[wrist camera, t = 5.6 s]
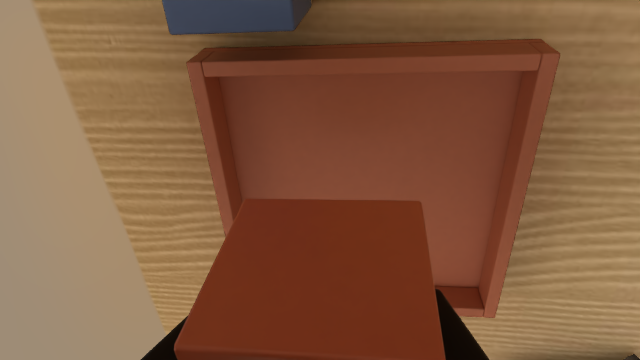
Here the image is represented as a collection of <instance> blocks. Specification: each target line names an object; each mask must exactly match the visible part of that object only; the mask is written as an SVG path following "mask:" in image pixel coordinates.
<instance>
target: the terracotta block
mask: <svg viewBox="0 0 640 360" xmlns="http://www.w3.org/2000/svg"><path fill="white" fill-rule="evenodd" d="M174 352H175V355H176V357H177V360H446V358H445V352H444V345H443V338H442V332H441V325H440V319H439V312H438V305H437V299H436V292H435V286H434V279H433V273H432V266H431V259H430V253H429V246H428V240H427V233H426V226H425V220H424V213H423V207H422V203H421V202H420V201H406V200H326V199H245V200H244V201H243V203H242V205H241V207H240V209H239V211H238V214H237V216H236V218H235V220H234V222H233V224H232V226H231V228H230V230H229V232H228V234H227V236H226V238H225V241H224V243H223V245H222V247H221V249H220V251H219V253H218V255H217V257H216V259H215V261H214V263H213V265H212V267H211V270H210V272H209V274H208V276H207V278H206V280H205V282H204V284H203V286H202V288H201V290H200V292H199V294H198V297H197V299H196V301H195V303H194V305H193V307H192V309H191V311H190V313H189V315H188V317H187V319H186V321H185V324H184V326H183V328H182V330H181V332H180V334H179V336H178V338H177V340H176V342H175V345H174Z"/></svg>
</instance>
